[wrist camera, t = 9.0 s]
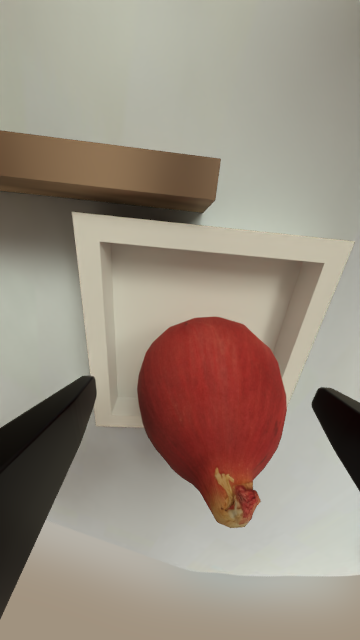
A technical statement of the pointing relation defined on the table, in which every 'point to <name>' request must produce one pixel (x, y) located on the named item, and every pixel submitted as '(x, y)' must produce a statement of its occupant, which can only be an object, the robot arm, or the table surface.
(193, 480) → the onion
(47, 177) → the bay
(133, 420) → the tray
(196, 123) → the table surface
